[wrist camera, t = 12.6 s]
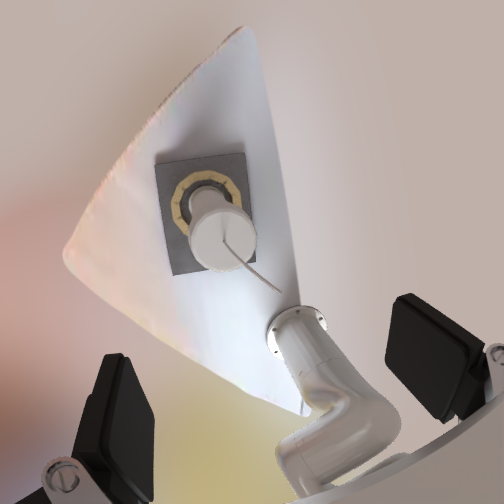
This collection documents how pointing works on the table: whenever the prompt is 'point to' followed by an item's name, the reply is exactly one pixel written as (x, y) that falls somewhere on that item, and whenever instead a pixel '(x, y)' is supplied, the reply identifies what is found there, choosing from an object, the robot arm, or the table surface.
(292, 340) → the robot arm
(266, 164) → the table surface
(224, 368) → the table surface
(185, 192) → the fitting base
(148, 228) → the table surface
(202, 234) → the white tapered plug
